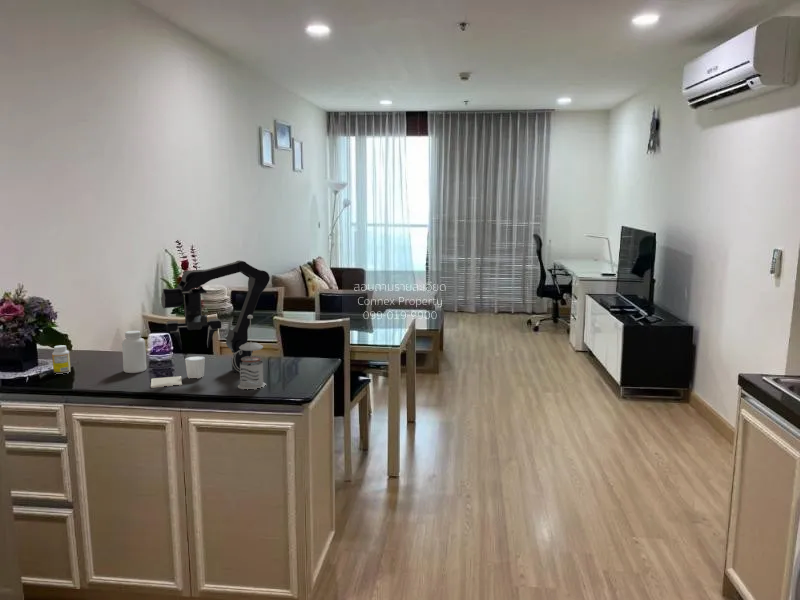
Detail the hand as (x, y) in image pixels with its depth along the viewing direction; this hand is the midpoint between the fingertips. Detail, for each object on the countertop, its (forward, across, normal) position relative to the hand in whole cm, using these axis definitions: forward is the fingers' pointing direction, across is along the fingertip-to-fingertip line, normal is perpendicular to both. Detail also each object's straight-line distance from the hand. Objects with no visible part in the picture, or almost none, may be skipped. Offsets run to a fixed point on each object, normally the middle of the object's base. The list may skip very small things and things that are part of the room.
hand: (194, 348), depth 220 cm
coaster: (+10, -10, -5) cm, 15 cm away
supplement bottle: (+11, -46, +21) cm, 52 cm away
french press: (+11, +17, -18) cm, 27 cm away
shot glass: (+11, 0, 0) cm, 11 cm away
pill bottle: (+11, -21, +16) cm, 29 cm away
